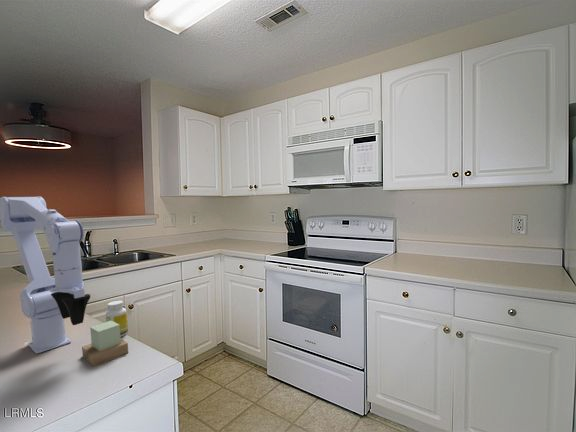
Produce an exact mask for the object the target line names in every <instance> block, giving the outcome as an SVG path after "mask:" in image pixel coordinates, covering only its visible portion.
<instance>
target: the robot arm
mask: <svg viewBox="0 0 576 432" xmlns="http://www.w3.org/2000/svg"><path fill="white" fill-rule="evenodd" d="M0 224H1V226H2V227H3V230H6V231H9V232H10V233H11V234H12V237H13V239H14V241H15V245H16V248H17V251H18V254H19V256H20V259H21V263H22V265H23V268H24V271H25V274H26V278H27V280H28V282H29V283H28V284H27V285H26V286H25V287H24V288H23V289H22V290H21V291H20V295H19V300H20V309H21V312H22V314H23V315H24V317H26V318H28V319H30V332H31V333H30V334H31V341H29V342H28V343H27V345H28V346H29V348H30V349H31V350H32V351H33V352H34V353H35V354H40V353H43V352H47V351H48V350H52V349H54V348H55V349H56V348H58V347H62V346H64V345H67V344H71V343H72V340H71V339H70V338H69V337H67V335H66V323H65V319H68V318H69V319H70V323H71V325H72V326H76V325H80V324H82V323H84V320H85V319H84V318H85V313H86V309H87V305H88V303H89V300H90V299H91V294H90V293H87V294H85V282H84V279H83V270H82V257H81V256H82V255H81V245H80V243H81V242H82V241H83V240H84V239H83V238H84V234H85V232H84V227H83V225H82V223H81V222H80V221H79V220H78V219H74V220H69V219H68V218H66V217H64V216H63V215H62V214H61V213H59V212H57V210H56V209H55V208H54V209H51V208H49V209H48V208H47V202H46V200H45V199H44V198H43V197H42V196H39V195H37V196H10V197H9V196H1V197H0ZM38 228H39V230H41V232H43V234H45V236H46V241H47V243H48V246H49V247H48V248H49V251H50V252H49V253H52V260H53V261H52V263H53V274H54V277H52V276H51V274H50V271H49V268H48V265H47V263H46V261H45V257H44V254H43V252H42V248H41V246H40V242H39V240H38V238H37V234H36V229H38Z"/></svg>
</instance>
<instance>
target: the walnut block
mask: <svg viewBox="0 0 576 432" xmlns="http://www.w3.org/2000/svg"><path fill="white" fill-rule="evenodd" d="M81 353H82V358H84V359H85V360H86V361H87V362H88V363H90V364H91V366H93V367H95V366H99V365H101V364H103V363H106V362H108V361H111V360H114V359H116V358H118V357H121V356H123V355H126V354H128V353H129V344H128V342H127V341H125V340H123V339H122V338H121V343H120V344H118V345H115V346H113V347H110V348H107V349H105V350H102V351H99V350H97V349H95V348H94V347H92V343H89V344H86V345H83V346H81Z"/></svg>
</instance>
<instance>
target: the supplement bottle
mask: <svg viewBox="0 0 576 432" xmlns="http://www.w3.org/2000/svg"><path fill="white" fill-rule="evenodd" d="M107 309H108V310H107V311H106V312H105V322H108V321H113V322H115V323H117V324H119V325H120V338H122V337H124V336H126V335H127V334H128V332H129V327H128V326H129V325H128V324H129V323H128V314H127V309H126V308H125V307H124V301H123V300H114V301H111V302H109V303H107Z"/></svg>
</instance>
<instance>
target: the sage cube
mask: <svg viewBox="0 0 576 432" xmlns="http://www.w3.org/2000/svg"><path fill="white" fill-rule="evenodd" d="M121 339H122V337H120V325H119V324H117V323H115V322H113V321H108V322H106V321H105V322H102V323H100V324H96V325H93V326H90V342H91V343H90V344H92V347H94V348H95V349H97V350H99V351H102V350H105V349H107V348H110V347H113V346H115V345H118V344H120V343H121Z"/></svg>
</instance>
